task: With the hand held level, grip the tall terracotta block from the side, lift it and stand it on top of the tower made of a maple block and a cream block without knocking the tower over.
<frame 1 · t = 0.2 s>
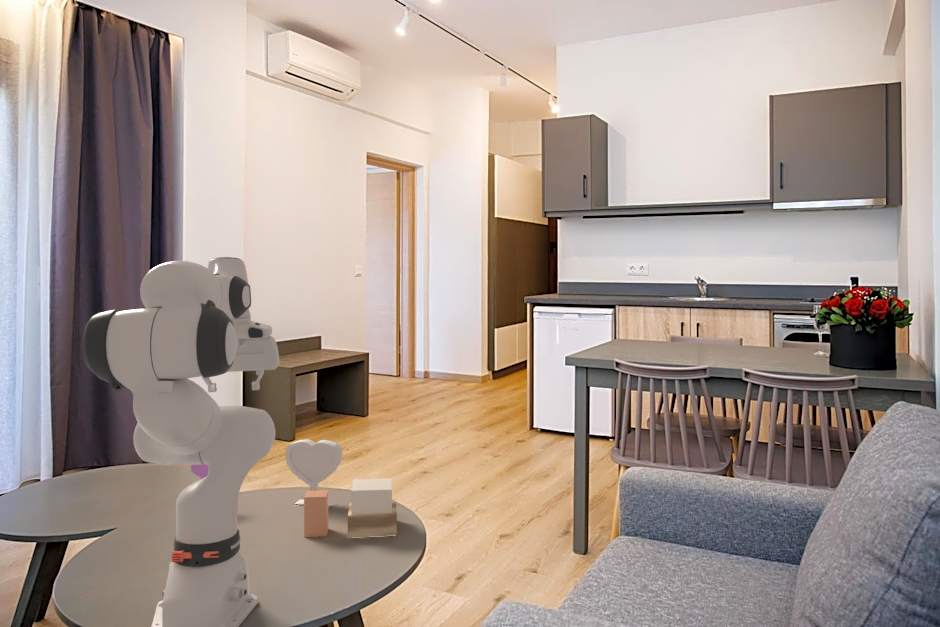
hand: (234, 390, 156), 39 cm above the table, tool pointing down, fingers open, 8 cm apart
tower base: (372, 530, 177), on the table, touching tower top
toy chair: (208, 512, 191), on the table
terracotta block: (316, 532, 175), on the table
tower top: (371, 507, 177), point 6 cm above the table, touching tower base
heart sculpture: (314, 503, 198), on the table
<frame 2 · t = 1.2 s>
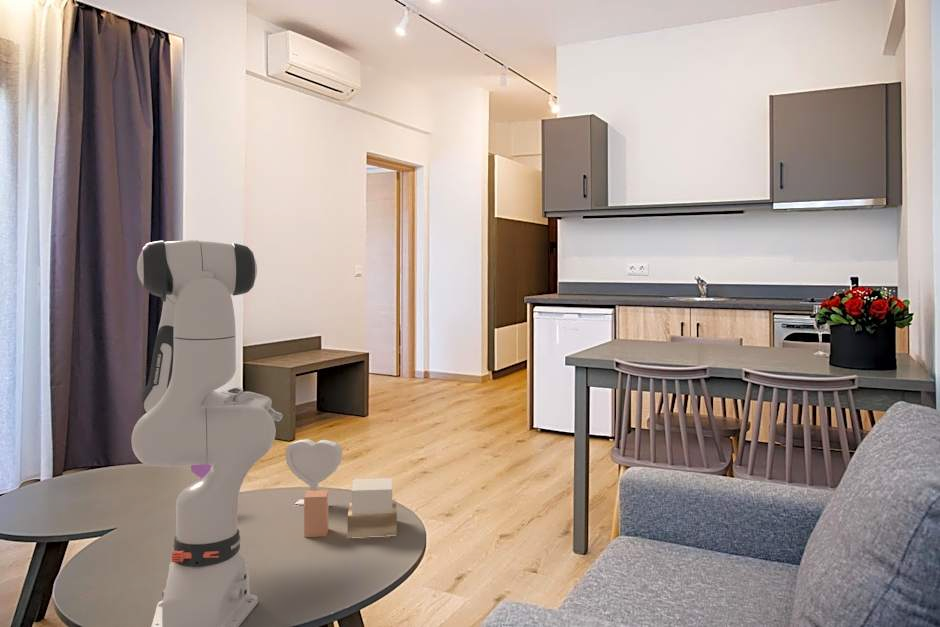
hand: (273, 426, 169), 28 cm above the table, tool horizontal, fingers open, 8 cm apart
nothing on the table moved.
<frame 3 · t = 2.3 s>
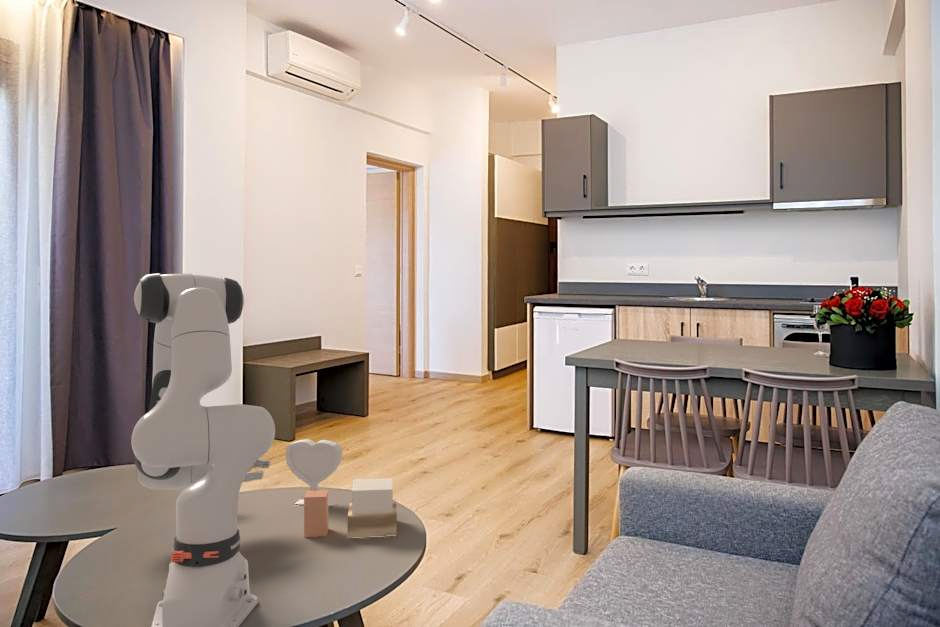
hand: (266, 469, 173), 16 cm above the table, tool horizontal, fingers open, 8 cm apart
tower base: (372, 530, 177), on the table
tower top: (372, 507, 177), point 6 cm above the table
everything else where it was.
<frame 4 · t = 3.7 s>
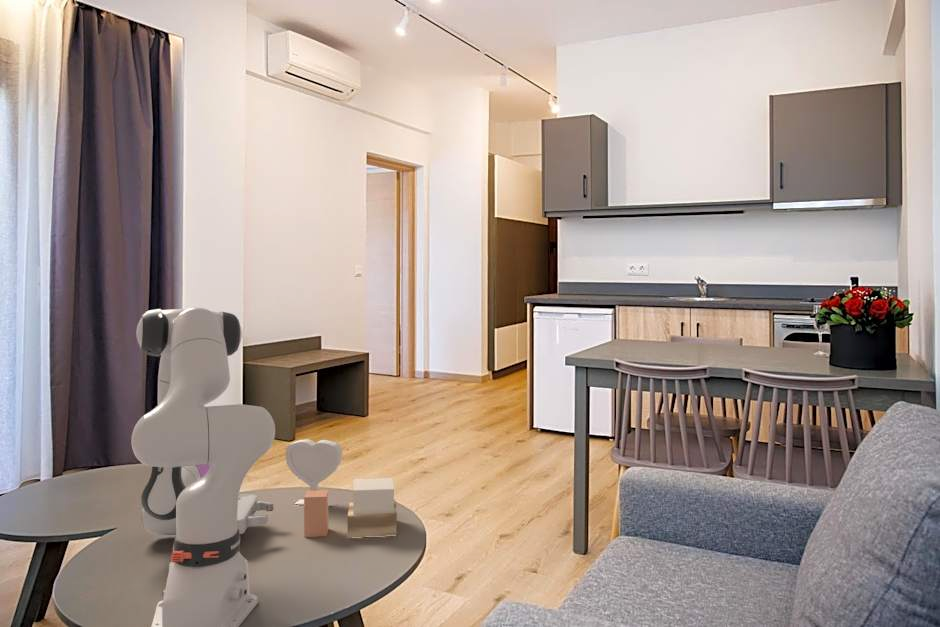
hand: (270, 512, 173), 5 cm above the table, tool horizontal, fingers open, 8 cm apart
tower base: (372, 530, 177), on the table, touching tower top
tower top: (373, 507, 177), point 6 cm above the table, touching tower base
everything else where it was.
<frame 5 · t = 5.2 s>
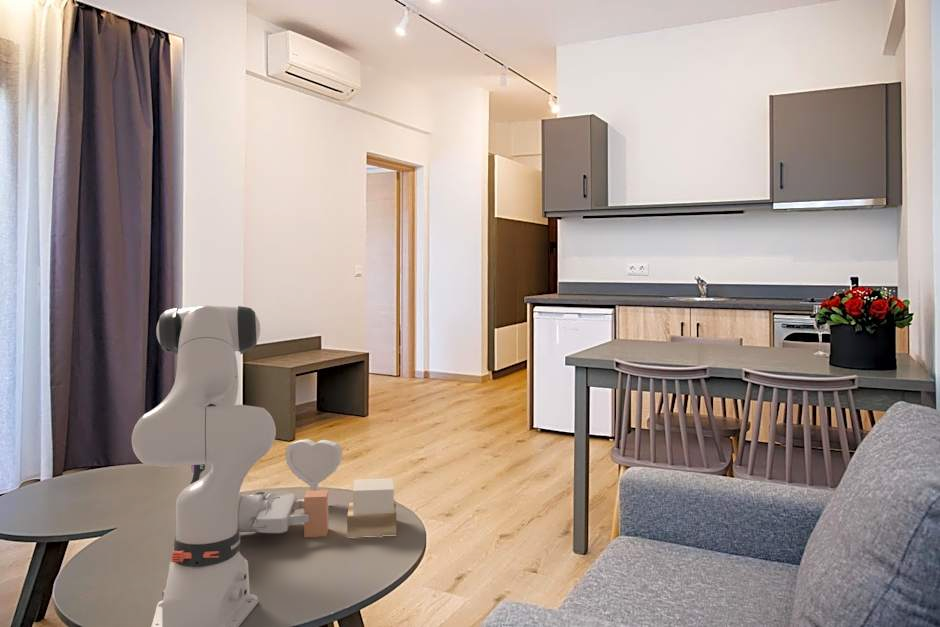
hand: (311, 511, 174), 5 cm above the table, tool horizontal, fingers open, 8 cm apart
nothing on the table moved.
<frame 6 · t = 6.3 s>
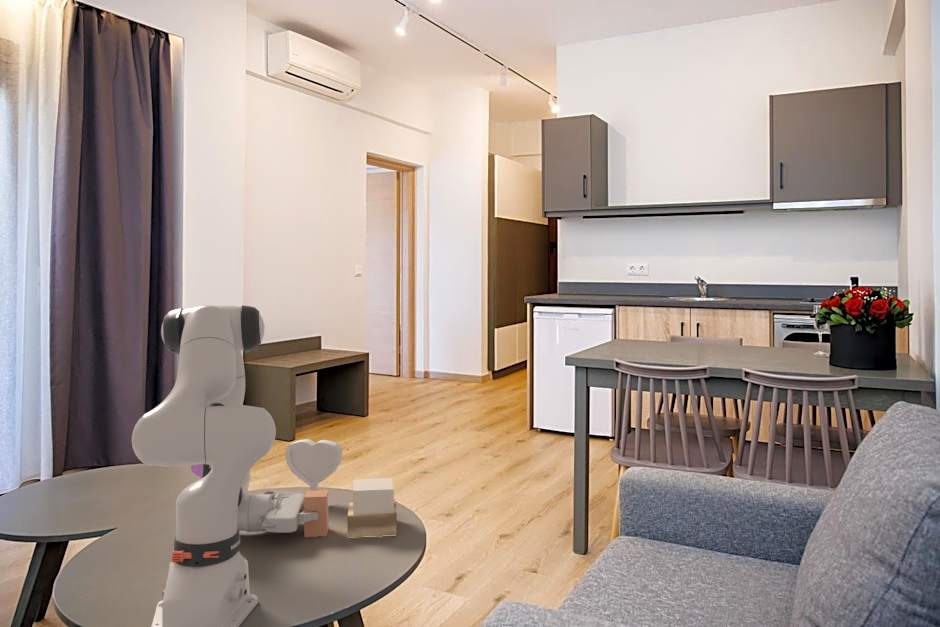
hand: (320, 510, 174), 6 cm above the table, tool horizontal, fingers closed on terracotta block, 5 cm apart
terracotta block: (316, 532, 175), on the table, touching gripper
everything else where it was.
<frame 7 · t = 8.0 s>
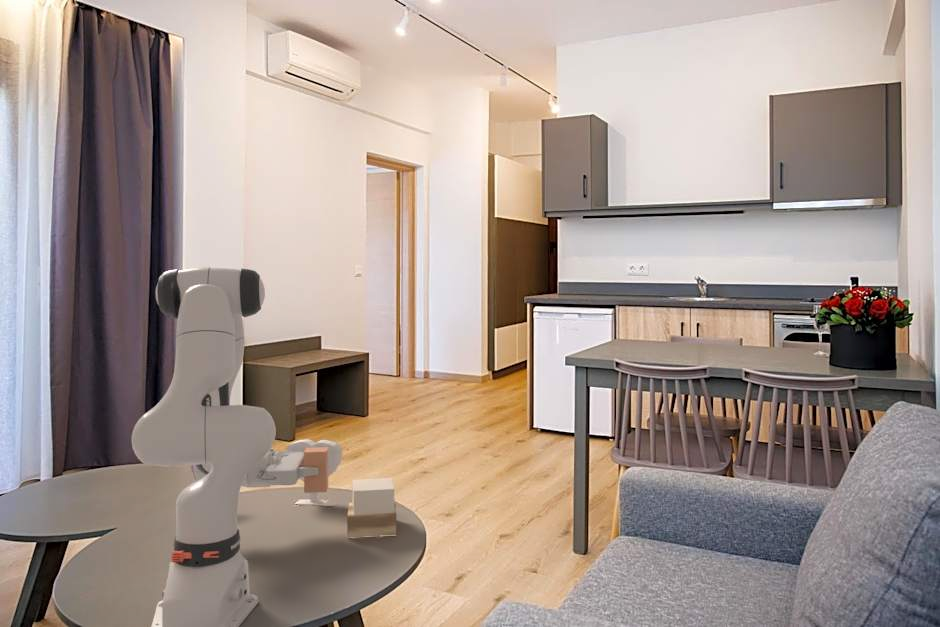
hand: (320, 467, 174), 17 cm above the table, tool horizontal, fingers closed on terracotta block, 5 cm apart
terracotta block: (316, 489, 174), point 11 cm above the table, touching gripper
everything else where it was.
when the fingers open (18 cm above the table, at t = 12.4 s): terracotta block stays where it is, resting on tower top.
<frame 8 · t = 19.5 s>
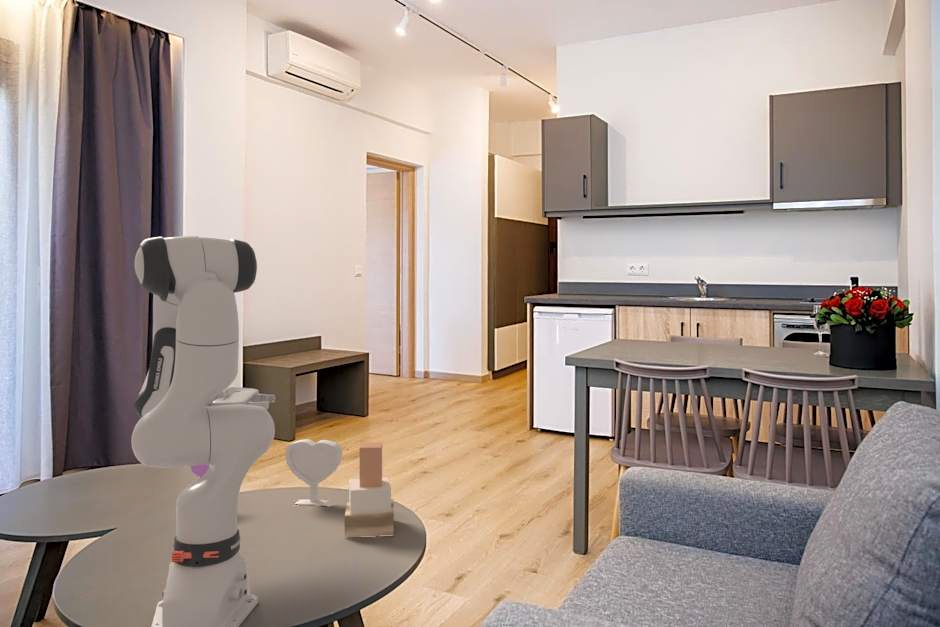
hand: (271, 402, 168), 34 cm above the table, tool horizontal, fingers open, 8 cm apart
terracotta block: (371, 483, 177), point 12 cm above the table, touching tower top
tower top: (369, 506, 177), point 6 cm above the table, touching terracotta block, tower base
everything else where it was.
at the end: terracotta block 0.5 cm off-centre on the tower top, point 6.0 cm above the tower top's base; tower top 0.9 cm from the target spot, point 5.7 cm above the table; terracotta block tilted 0° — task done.
